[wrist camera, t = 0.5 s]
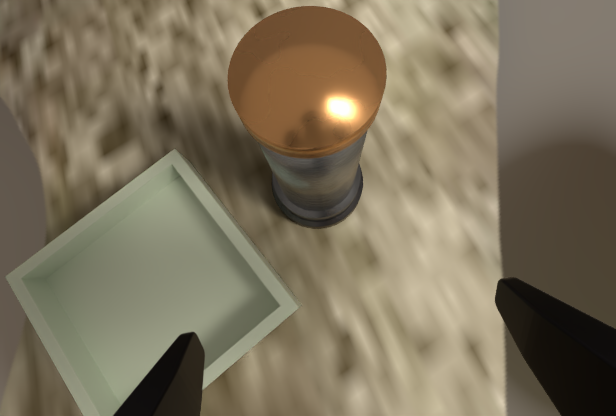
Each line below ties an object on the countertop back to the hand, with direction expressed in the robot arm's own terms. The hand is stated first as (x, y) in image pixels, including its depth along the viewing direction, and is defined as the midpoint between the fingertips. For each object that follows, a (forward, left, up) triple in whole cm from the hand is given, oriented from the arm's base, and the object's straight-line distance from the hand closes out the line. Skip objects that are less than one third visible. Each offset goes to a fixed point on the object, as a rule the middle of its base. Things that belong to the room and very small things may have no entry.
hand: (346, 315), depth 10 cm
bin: (+8, +9, -13) cm, 18 cm away
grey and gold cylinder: (+7, -4, -12) cm, 14 cm away
